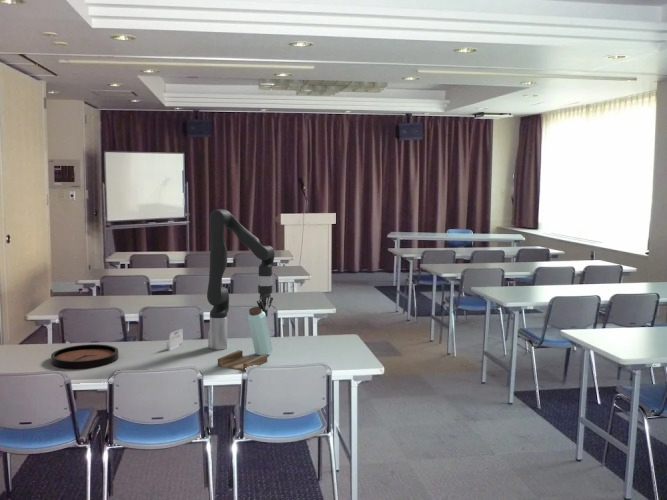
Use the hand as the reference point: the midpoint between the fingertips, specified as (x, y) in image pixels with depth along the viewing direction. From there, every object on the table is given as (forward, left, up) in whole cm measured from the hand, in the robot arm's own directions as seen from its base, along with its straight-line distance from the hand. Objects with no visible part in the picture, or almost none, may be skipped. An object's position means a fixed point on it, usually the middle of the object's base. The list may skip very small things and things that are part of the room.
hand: (264, 316), depth 327 cm
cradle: (0, -20, -20) cm, 29 cm away
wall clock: (-72, -53, -21) cm, 92 cm away
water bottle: (0, 0, -19) cm, 19 cm away
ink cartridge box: (-48, -14, -20) cm, 54 cm away
